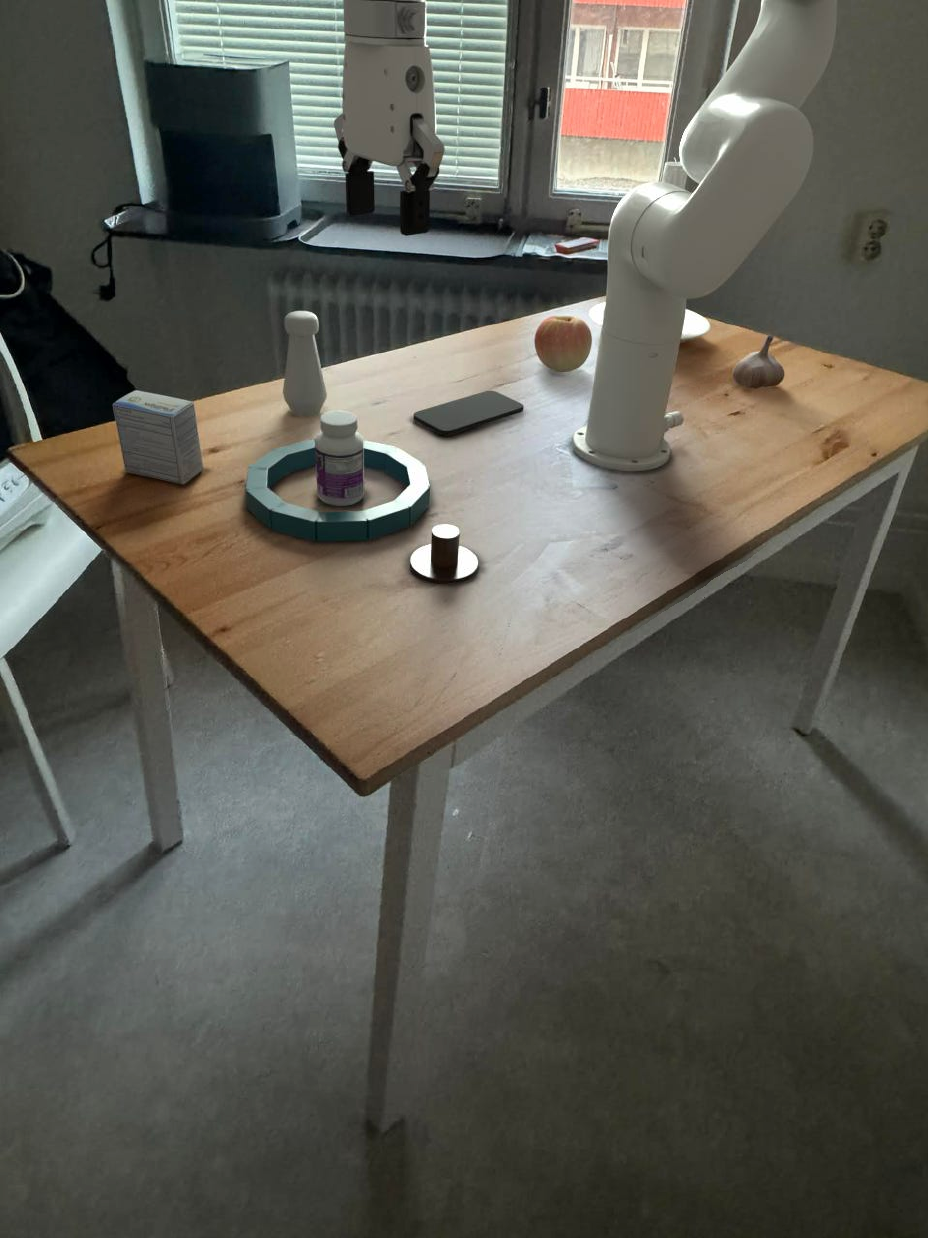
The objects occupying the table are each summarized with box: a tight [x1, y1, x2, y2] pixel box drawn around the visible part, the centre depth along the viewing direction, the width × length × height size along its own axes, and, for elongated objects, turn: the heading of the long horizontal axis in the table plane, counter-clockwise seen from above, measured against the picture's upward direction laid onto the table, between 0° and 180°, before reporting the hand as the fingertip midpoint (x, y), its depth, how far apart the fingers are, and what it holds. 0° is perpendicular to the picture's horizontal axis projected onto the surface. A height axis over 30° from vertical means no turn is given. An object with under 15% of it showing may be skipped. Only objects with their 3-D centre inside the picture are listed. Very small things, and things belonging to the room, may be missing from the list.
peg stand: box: [409, 523, 479, 585], centre depth 89 cm, size 7×7×4 cm
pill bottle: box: [314, 409, 365, 507], centre depth 98 cm, size 5×5×10 cm
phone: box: [413, 390, 525, 437], centre depth 121 cm, size 7×1×15 cm
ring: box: [245, 438, 431, 543], centre depth 100 cm, size 20×20×2 cm
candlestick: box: [589, 157, 711, 344], centre depth 144 cm, size 21×25×28 cm
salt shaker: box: [282, 310, 328, 418], centre depth 116 cm, size 6×6×13 cm
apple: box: [533, 315, 593, 373], centre depth 136 cm, size 9×9×8 cm
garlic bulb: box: [732, 334, 785, 390], centre depth 135 cm, size 8×7×8 cm
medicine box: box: [112, 390, 204, 486], centre depth 101 cm, size 8×4×9 cm, turn 71°
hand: (387, 223), depth 91 cm, fingers open, 9 cm apart
